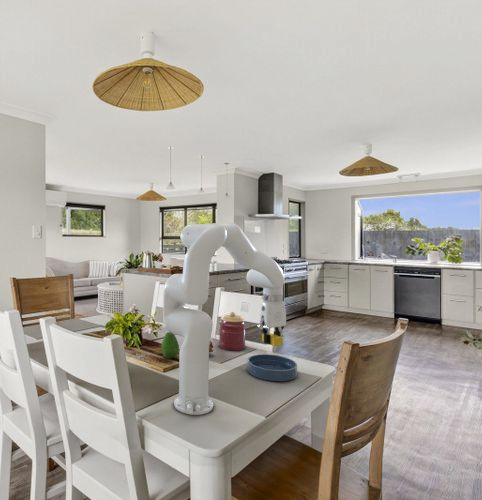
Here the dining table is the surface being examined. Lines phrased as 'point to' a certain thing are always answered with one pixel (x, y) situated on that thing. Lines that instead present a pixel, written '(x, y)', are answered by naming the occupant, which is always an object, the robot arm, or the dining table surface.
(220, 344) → the kitchen canister
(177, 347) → the avocado
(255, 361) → the bowl
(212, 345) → the dragon fruit
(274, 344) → the sponge
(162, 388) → the dining table surface
